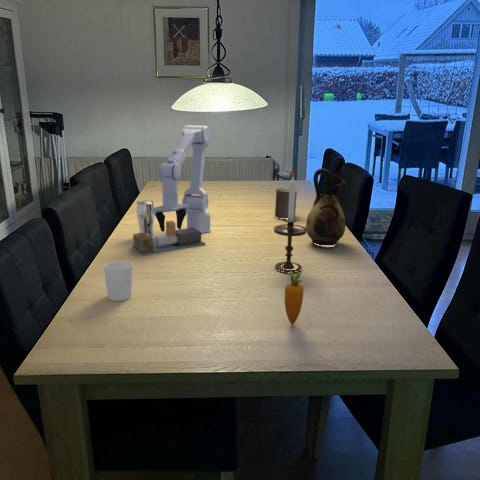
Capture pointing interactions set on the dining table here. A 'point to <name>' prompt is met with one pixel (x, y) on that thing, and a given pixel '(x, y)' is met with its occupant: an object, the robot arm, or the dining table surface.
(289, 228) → the candlestick
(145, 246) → the socket block
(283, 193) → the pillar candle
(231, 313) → the dining table surface
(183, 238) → the outer sleeve
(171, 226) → the grey slider with handle
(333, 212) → the ceramic jug
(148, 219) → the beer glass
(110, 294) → the white cup
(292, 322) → the carrot
